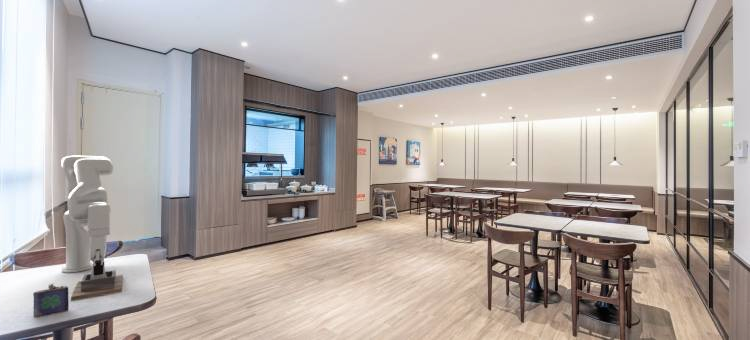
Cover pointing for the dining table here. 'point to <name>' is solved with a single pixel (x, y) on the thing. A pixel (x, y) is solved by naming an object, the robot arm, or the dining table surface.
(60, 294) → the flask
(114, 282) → the holder board
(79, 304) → the dining table surface
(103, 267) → the salt shaker
